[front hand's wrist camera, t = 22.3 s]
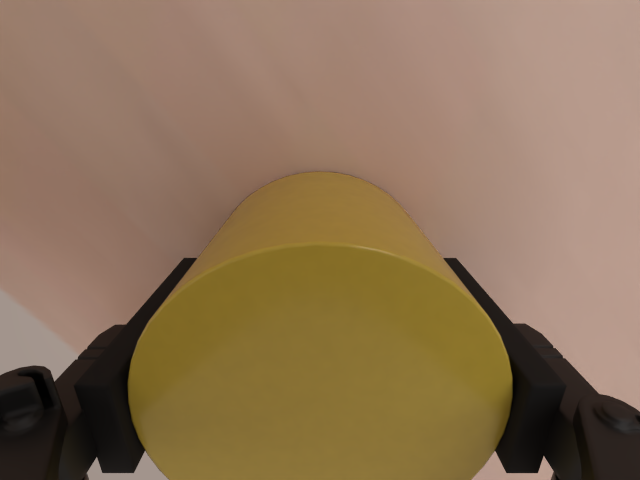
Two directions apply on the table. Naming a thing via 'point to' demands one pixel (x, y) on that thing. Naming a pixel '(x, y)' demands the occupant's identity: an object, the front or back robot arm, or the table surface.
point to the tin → (320, 348)
